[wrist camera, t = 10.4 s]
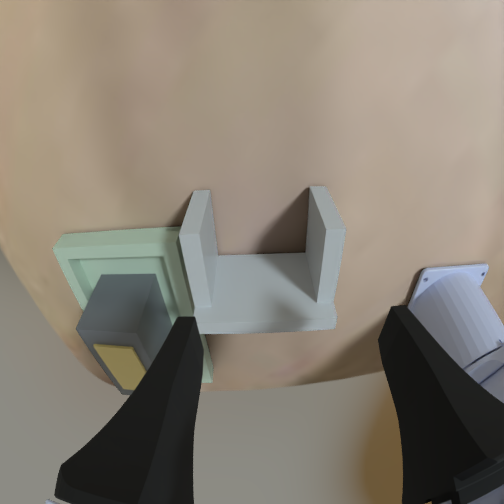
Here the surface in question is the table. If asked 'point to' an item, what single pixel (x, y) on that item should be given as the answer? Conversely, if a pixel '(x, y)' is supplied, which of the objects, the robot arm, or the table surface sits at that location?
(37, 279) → the table surface
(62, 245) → the tray
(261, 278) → the bay
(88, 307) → the grey block yellow label
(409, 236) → the table surface
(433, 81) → the table surface
